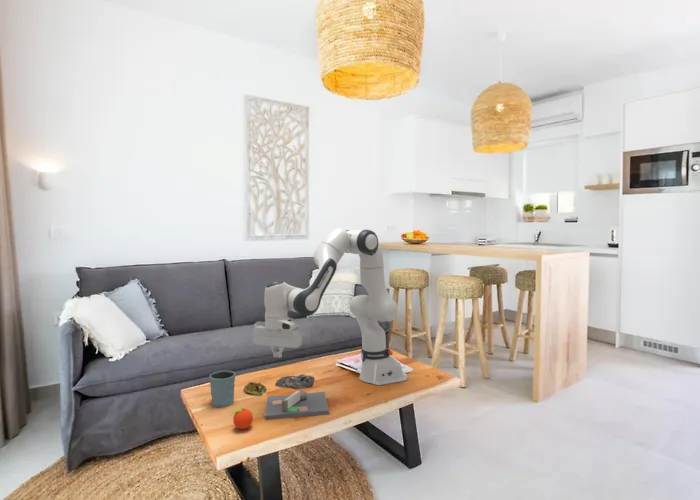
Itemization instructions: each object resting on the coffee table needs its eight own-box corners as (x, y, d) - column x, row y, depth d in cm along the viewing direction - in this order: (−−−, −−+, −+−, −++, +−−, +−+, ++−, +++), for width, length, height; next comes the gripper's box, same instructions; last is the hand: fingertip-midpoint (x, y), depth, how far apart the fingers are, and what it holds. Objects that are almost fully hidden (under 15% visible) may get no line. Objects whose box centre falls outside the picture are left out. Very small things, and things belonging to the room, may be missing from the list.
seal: (239, 390, 186) (251, 400, 173) (238, 380, 185) (250, 390, 173) (258, 383, 191) (271, 393, 178) (257, 373, 190) (270, 382, 178)
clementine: (231, 435, 142) (231, 415, 142) (229, 426, 148) (228, 407, 148) (254, 430, 145) (254, 410, 145) (251, 421, 152) (250, 403, 151)
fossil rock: (321, 387, 185) (311, 376, 199) (320, 378, 185) (311, 368, 198) (279, 394, 178) (272, 382, 192) (279, 386, 177) (272, 374, 191)
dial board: (324, 395, 174) (324, 391, 174) (329, 413, 157) (328, 409, 157) (267, 399, 171) (267, 396, 171) (265, 419, 153) (265, 415, 153)
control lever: (299, 395, 171) (299, 386, 171) (308, 396, 169) (308, 387, 169) (279, 410, 157) (278, 400, 157) (288, 412, 155) (288, 402, 155)
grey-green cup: (209, 400, 172) (208, 372, 171) (234, 396, 176) (233, 368, 175) (211, 410, 162) (210, 380, 162) (237, 405, 166) (236, 376, 166)
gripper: (249, 322, 161) (250, 357, 162) (295, 325, 155) (297, 361, 155) (258, 319, 167) (259, 352, 168) (303, 322, 160) (304, 356, 161)
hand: (277, 356), depth 162 cm, fingers closed
